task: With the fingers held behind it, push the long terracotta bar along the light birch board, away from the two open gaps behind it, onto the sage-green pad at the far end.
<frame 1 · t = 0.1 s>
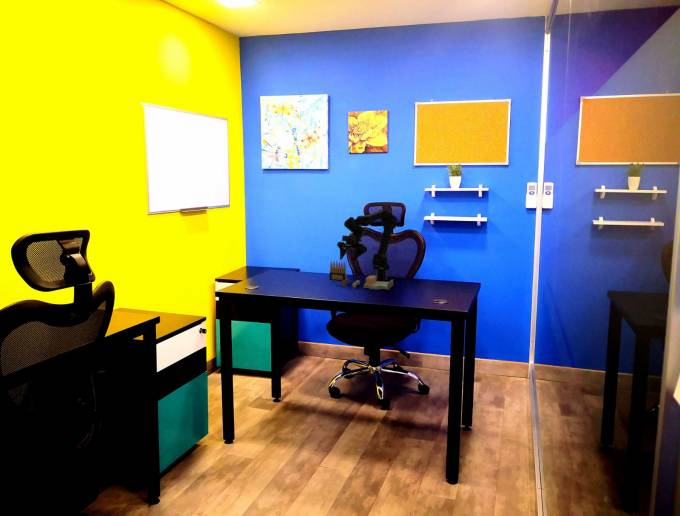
hand: (346, 260, 306), 15 cm above the table, tool tilted 35°, fingers open, 9 cm apart
block: (371, 283, 308), point 2 cm above the table, touching trap board
trap board: (367, 286, 309), on the table
ammunition clip: (337, 281, 325), on the table
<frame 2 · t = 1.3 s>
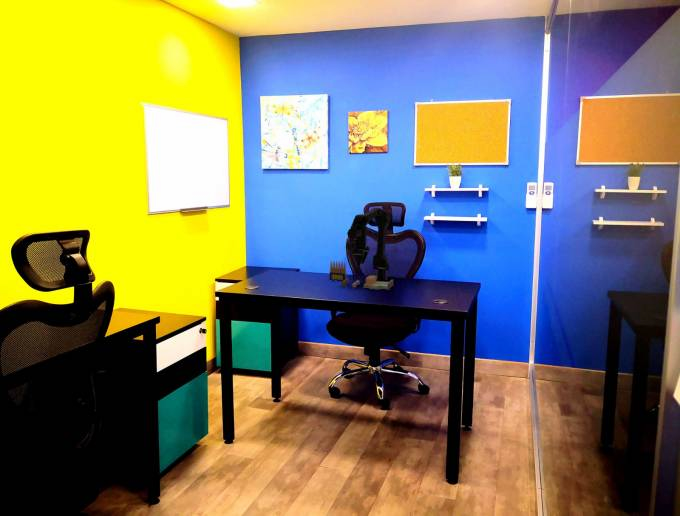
hand: (360, 265, 308), 12 cm above the table, tool pointing down, fingers open, 9 cm apart
nothing on the table moved.
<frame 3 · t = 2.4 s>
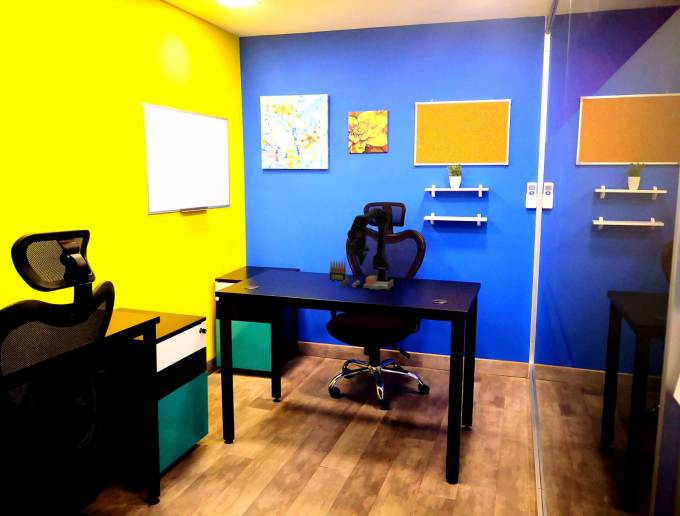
hand: (360, 265, 308), 12 cm above the table, tool pointing down, fingers closed
nothing on the table moved.
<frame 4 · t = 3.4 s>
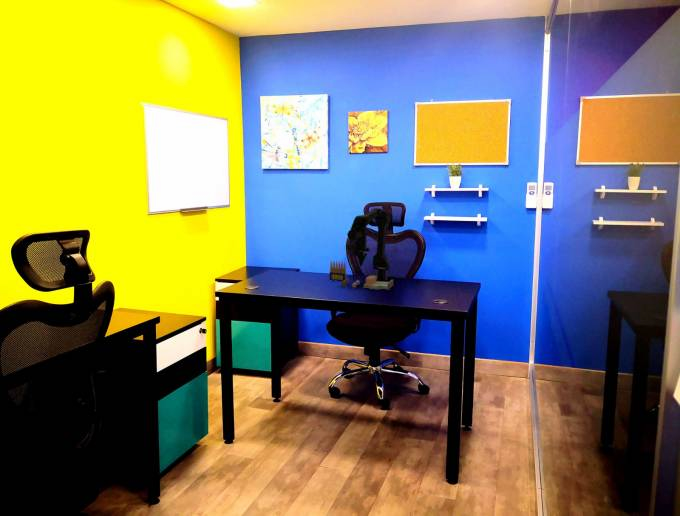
hand: (360, 266, 308), 11 cm above the table, tool pointing down, fingers closed
nothing on the table moved.
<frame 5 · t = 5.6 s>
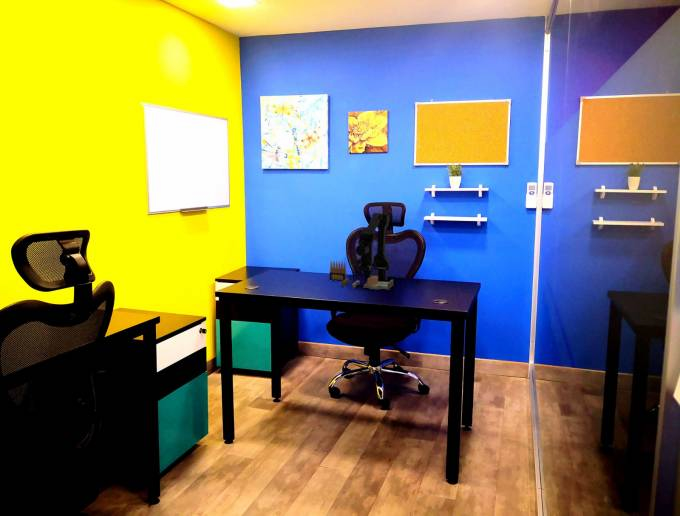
hand: (366, 281, 308), 3 cm above the table, tool pointing down, fingers closed
block: (372, 283, 307), point 2 cm above the table, touching gripper, trap board
everything else where it was.
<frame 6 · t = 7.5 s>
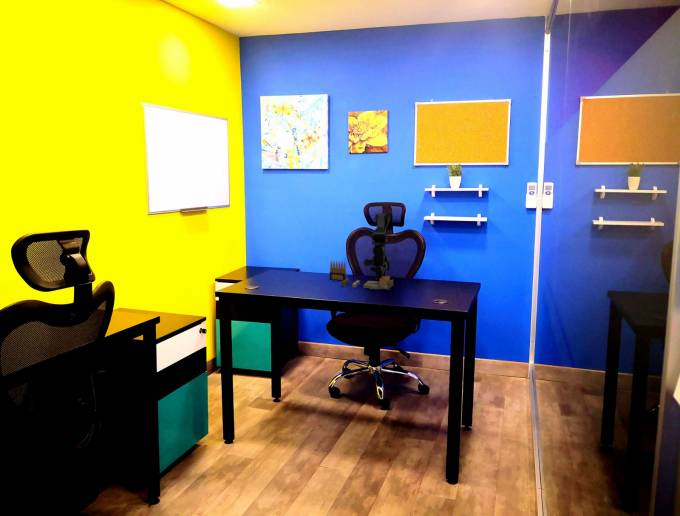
hand: (378, 281, 306), 3 cm above the table, tool pointing down, fingers closed, pressing on block
block: (384, 283, 306), point 2 cm above the table, touching gripper, trap board
everything else where it was.
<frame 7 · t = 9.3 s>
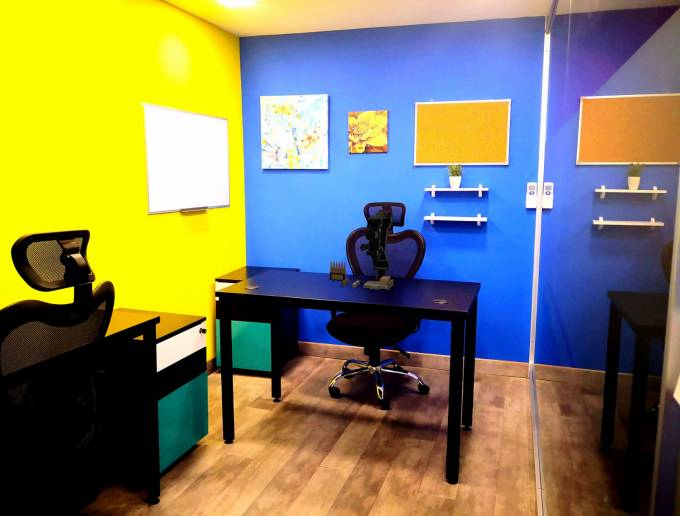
hand: (374, 265, 312), 11 cm above the table, tool pointing down, fingers closed
block: (384, 283, 306), point 2 cm above the table, touching trap board
everything else where it was.
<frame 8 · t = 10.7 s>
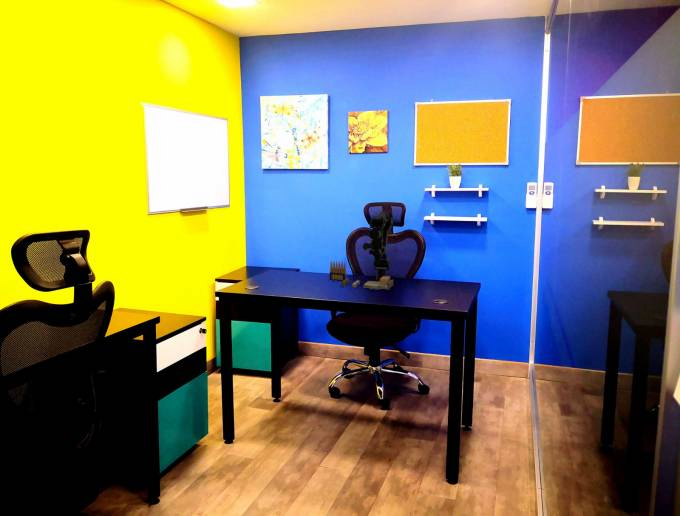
hand: (377, 265, 315), 11 cm above the table, tool pointing down, fingers closed
nothing on the table moved.
at the end: block inside the target area (0.5 cm from its centre), point 2.0 cm above the table; block tilted 0°; the gripper is holding nothing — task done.
